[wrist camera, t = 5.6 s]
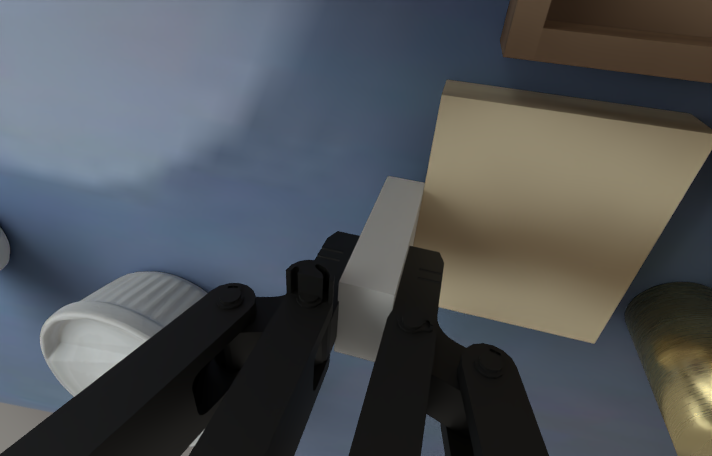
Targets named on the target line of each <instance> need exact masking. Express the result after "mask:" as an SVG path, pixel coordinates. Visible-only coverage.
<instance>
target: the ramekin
mask: <svg viewBox="0 0 712 456" xmlns="http://www.w3.org/2000/svg"><path fill="white" fill-rule="evenodd" d="M206 294H208V293H207V292H206V291H204V290H203V289H201V288H200V287H198V286H196V285H195V284H193V283H191V282H189V281H187V280H185V279H183V278H180V277H178V276H175V275H172V274H168V273H163V272H147V271H146V272H135V273H130V274H127V275H125V276H122V277H120V278H118V279H116V280H114V281H113V282H111V283H109V284H107V285H106V286H104V287H102V288H101V289H99V290H97V291H95V292H94V293H92V294H90V295H89V296H87V297H86V298H84V299H82V300H81V301H79V302H74V303H71V304H68V305H66V306H64V307H62V308H61V309H59V310H58V311H56V312H55V313H54V314H53V315H52V316H50V317H49V318H48V319H47V320H46V322H45V323H44V325H43V327H42V329H41V334H40V345H41V349H42V353H43V356H44V358H45V360H46V362H47V364H48V366H49V367H50V369H51V371H52V372H53V374H54V375H55V377H56V378H57V379H58V381H59V382H60V383H61V384H62V385H63V386H64V387H65V388H66V389H67V390H68V391H69V392H70V393H71V394H72V395H73V396H74V397H75V396H76V395H77V394H79V393H80V392H81V391H82V390H84V389H85V388H86V387H88V386H89V385H90V384H92V383H93V382H94V381H95V380H97V379H98V378H99V377H101V376H102V375H103V374H104V373H106V372H107V371H108V370H110V369H111V368H112V367H113V366H115V365H116V364H117V363H119V362H120V361H121V360H123V359H124V358H125V357H126V356H128V355H129V354H130V353H132V352H133V351H134V350H135V349H137V348H138V347H139V346H141V345H142V344H143V343H144V342H146V341H147V340H148V339H150V338H151V337H152V336H153V335H155V334H156V333H157V332H159V331H160V330H161V329H163V328H164V327H165V326H166V325H168V324H169V323H170V322H172V321H173V320H174V319H175V318H177V317H178V316H179V315H181V314H182V313H183V312H184V311H186V310H187V309H188V308H190V307H191V306H192V305H193V304H195V303H196V302H197V301H199V300H200V299H201V298H203V297H204V296H205V295H206ZM204 430H205V429H204ZM204 430H203V431H204ZM203 431H202V433H203ZM202 433H201V434H200V435H199V436H198V437H197V438H196V439H195V440H194V441H193V442H192V444H191V445H190V446H189V447H193V446H195V444H196V443H197V441H198V439H199V438H200V436H201V435H202Z"/></svg>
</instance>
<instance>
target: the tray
mask: <svg viewBox="0 0 712 456" xmlns="http://www.w3.org/2000/svg"><path fill="white" fill-rule="evenodd" d="M500 43H501V49H502V54H503V57H508V58H516V59H524V60H532V61H539V62H547V63H555V64H563V65H571V66H579V67H587V68H595V69H603V70H611V71H619V72H627V73H635V74H643V75H651V76H659V77H667V78H675V79H682V80H690V81H698V82H706V83H712V0H510V2H509V6H508V10H507V14H506V18H505V22H504V26H503V30H502V34H501V38H500Z"/></svg>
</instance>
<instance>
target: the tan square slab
mask: <svg viewBox="0 0 712 456" xmlns="http://www.w3.org/2000/svg"><path fill="white" fill-rule="evenodd" d="M711 150H712V129H711V128H710V127H708V126H707V125H705V124H704V123H703V122H701V121H700V120H699V119H697V118H696V117H695V116H693V115H692V114H690V113H683V112H676V111H668V110H661V109H654V108H647V107H640V106H633V105H626V104H618V103H611V102H604V101H597V100H590V99H583V98H576V97H568V96H561V95H554V94H547V93H540V92H533V91H525V90H518V89H511V88H504V87H497V86H490V85H483V84H475V83H468V82H461V81H454V80H446V83H445V86H444V90H443V93H442V96H441V102H440V107H439V112H438V117H437V123H436V128H435V133H434V139H433V144H432V149H431V154H430V160H429V165H428V170H427V175H426V181H425V186H424V191H423V196H422V202H421V207H420V212H419V218H418V223H417V228H416V233H415V239H414V244H413V247H418V248H423V249H427V250H432V251H437V252H440V255H441V257H442V259H443V261H444V269H443V277H442V283H441V291H440V299H439V306H438V307H441V308H445V309H449V310H453V311H458V312H462V313H466V314H470V315H475V316H479V317H483V318H487V319H492V320H496V321H500V322H504V323H508V324H513V325H517V326H521V327H525V328H530V329H534V330H538V331H542V332H547V333H551V334H555V335H559V336H564V337H568V338H572V339H576V340H581V341H585V342H589V343H593V344H595V342H596V340H597V339H598V337H599V335H600V334H601V332H602V330H603V329H604V327H605V326H606V324H607V322H608V321H609V319H610V317H611V316H612V314H613V312H614V311H615V309H616V307H617V306H618V304H619V302H620V301H621V299H622V297H623V296H624V294H625V292H626V291H627V289H628V287H629V286H630V284H631V283H632V281H633V279H634V278H635V276H636V274H637V273H638V271H639V269H640V268H641V266H642V264H643V263H644V261H645V259H646V258H647V256H648V254H649V253H650V251H651V249H652V248H653V246H654V245H655V243H656V241H657V240H658V238H659V236H660V235H661V233H662V231H663V230H664V228H665V226H666V225H667V223H668V221H669V220H670V218H671V216H672V215H673V213H674V211H675V210H676V208H677V206H678V205H679V203H680V202H681V200H682V198H683V197H684V195H685V193H686V192H687V190H688V188H689V187H690V185H691V183H692V182H693V180H694V178H695V177H696V175H697V173H698V172H699V170H700V168H701V167H702V165H703V164H704V162H705V160H706V159H707V157H708V155H709V154H710V152H711Z"/></svg>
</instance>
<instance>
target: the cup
mask: <svg viewBox="0 0 712 456" xmlns="http://www.w3.org/2000/svg"><path fill="white" fill-rule="evenodd" d="M9 255H10V245H9V242H8V239H7V237H6V235H5V233H4V232H3V230H2V229H1V227H0V271H1V270H2V269H3V268H4V267H5V266H6V265H7V264H8V262H9V259H10V257H9Z"/></svg>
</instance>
